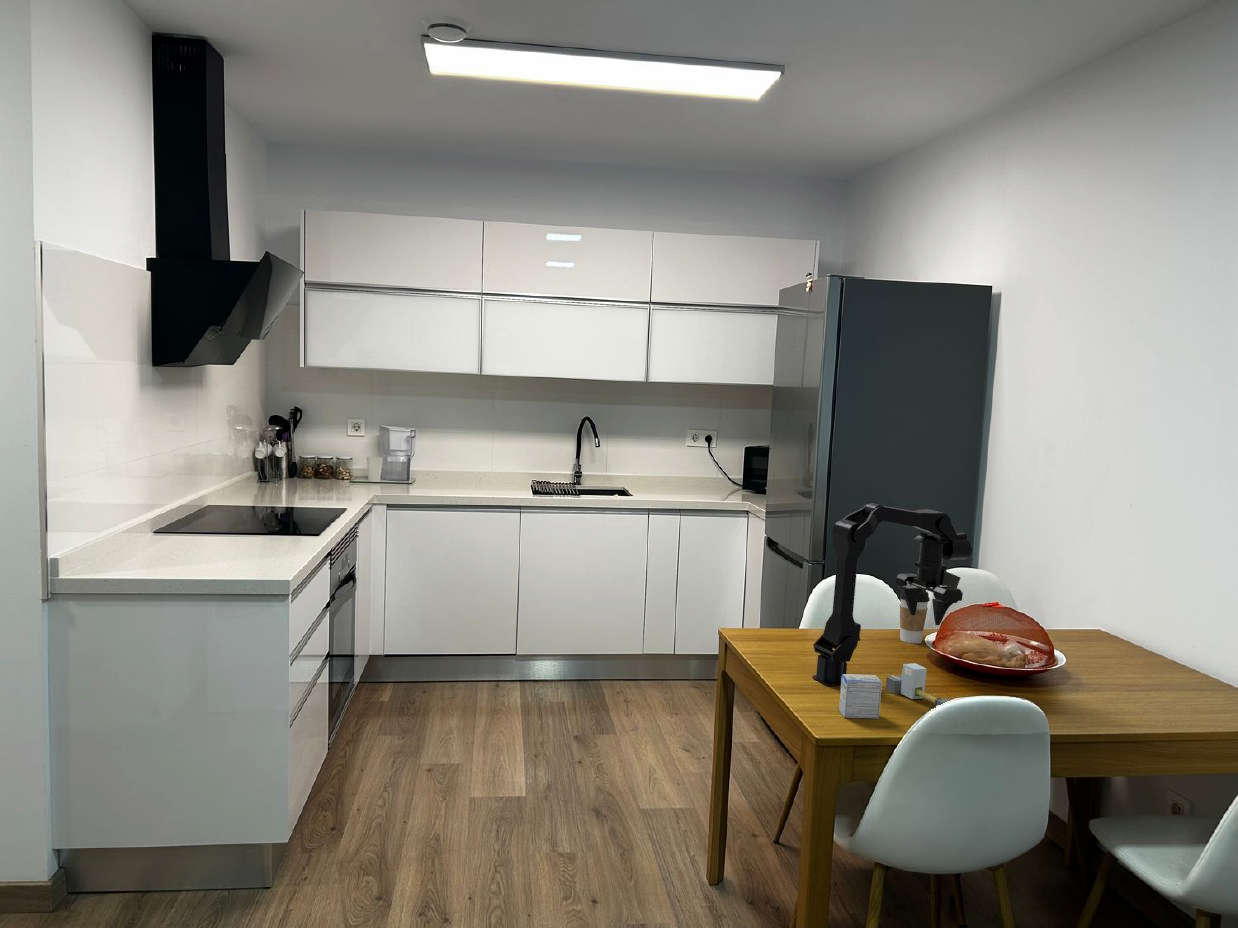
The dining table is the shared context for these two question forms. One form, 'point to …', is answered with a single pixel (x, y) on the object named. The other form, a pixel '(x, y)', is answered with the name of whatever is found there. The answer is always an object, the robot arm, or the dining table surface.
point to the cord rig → (895, 687)
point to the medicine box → (860, 696)
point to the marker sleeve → (913, 680)
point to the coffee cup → (913, 619)
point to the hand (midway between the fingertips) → (925, 620)
